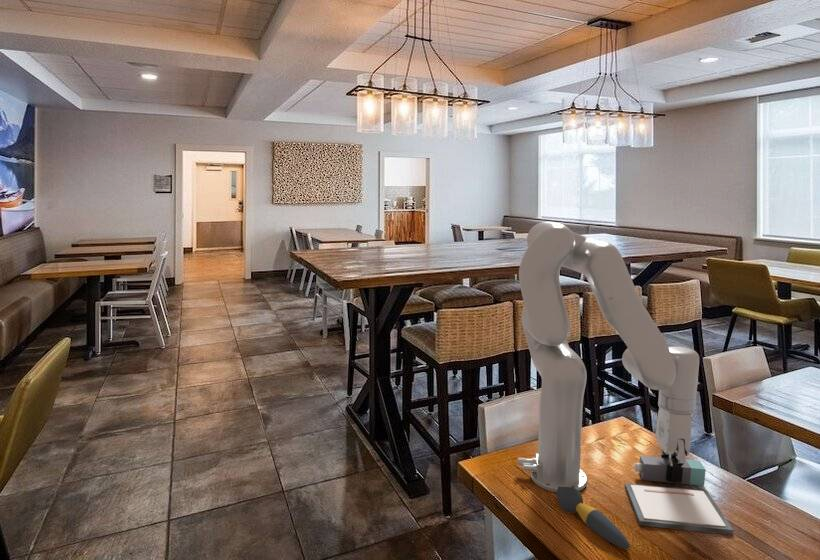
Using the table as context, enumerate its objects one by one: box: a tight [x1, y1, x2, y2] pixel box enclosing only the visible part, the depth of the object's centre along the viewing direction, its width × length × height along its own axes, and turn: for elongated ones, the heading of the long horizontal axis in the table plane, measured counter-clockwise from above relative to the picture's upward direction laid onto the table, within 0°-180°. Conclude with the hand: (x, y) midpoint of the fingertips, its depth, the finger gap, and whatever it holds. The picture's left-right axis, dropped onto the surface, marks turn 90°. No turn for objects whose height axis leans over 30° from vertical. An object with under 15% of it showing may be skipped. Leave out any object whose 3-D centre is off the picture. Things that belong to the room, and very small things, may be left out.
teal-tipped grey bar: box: [633, 455, 706, 487], centre depth 119 cm, size 14×4×4 cm, turn 79°
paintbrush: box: [556, 486, 631, 550], centre depth 104 cm, size 20×5×5 cm, turn 31°
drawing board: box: [624, 482, 734, 535], centre depth 108 cm, size 17×14×1 cm
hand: (670, 475), depth 119 cm, fingers closed on teal-tipped grey bar, 4 cm apart
